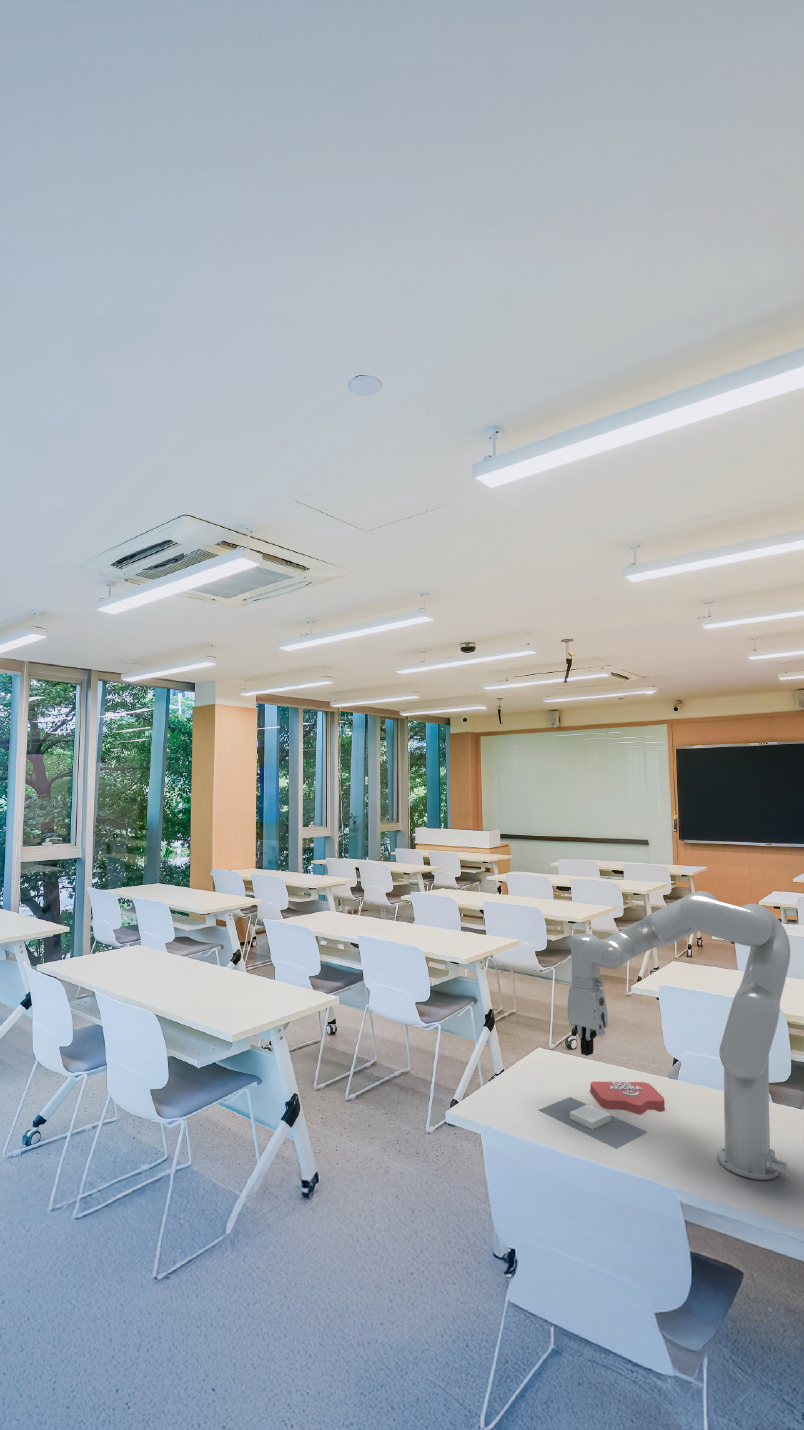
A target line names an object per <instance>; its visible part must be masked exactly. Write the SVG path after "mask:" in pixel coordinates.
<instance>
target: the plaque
mask: <svg viewBox="0 0 804 1430" xmlns="http://www.w3.org/2000/svg"><path fill="white" fill-rule="evenodd" d="M590 1094H591V1095H592V1097H593V1098H594V1099H595V1100H596V1101H597V1104H599V1106H600V1107H602V1108H603V1109H605V1110H622V1111H627V1112H629V1113H632V1114H636V1115H642V1114H644V1113H645V1112H647V1111H649V1110H650V1111H651V1110H652V1111H656V1112H660V1113H661V1112H664V1111H665V1097H664V1096H662V1094H661V1093H660V1092H659V1091H658V1090H657V1089H656V1088H655V1087H654V1086H653V1085H651V1084H650V1083H647V1082H643V1081H636V1082H635V1081H592V1082H590Z"/></svg>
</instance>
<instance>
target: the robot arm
mask: <svg viewBox="0 0 804 1430" xmlns="http://www.w3.org/2000/svg"><path fill="white" fill-rule="evenodd" d="M697 932H699V933H702V934H705V935H708V936H711V937H715V938H718V939H721V940H725V941H728V942H731V943H735V944H738V945H742V946H746V947H749V952H748V953H749V954H748V957H747V961H746V965H745V966H746V967H745V968H744V969H745V970H744V972H743V977H742V979H741V982H740V985H739V987H738V989H737V991H736V992H735V994H734V997H733V1000H732V1003H731V1007H730V1010H729V1013H728V1017H727V1020H726V1024H725V1028H724V1031H723V1035H722V1039H721V1043H720V1044H719V1048H718V1049H719V1051H718V1052H719V1053H718V1055H719V1059H720V1062H721V1064H722V1066H723V1109H724V1111H723V1112H724V1113H723V1114H724V1116H723V1117H724V1118H723V1119H724V1120H723V1121H724V1147H722V1148H720V1149H719V1150H718V1152H717V1159H718V1161H719V1164H721V1165H722V1166H723V1167H724V1168H725V1169H727V1170H728V1171H730V1172H731V1173H734V1174H736V1175H738V1176H741V1177H744V1178H747V1179H751V1180H759V1181H769V1180H773V1179H775V1178H777V1176H779V1175H781V1176H784V1177H786V1178H787V1177H789V1174H790V1168H789V1167H788V1163H787V1162H785V1161H782V1160H779V1159H777V1157H776V1152H775V1149H772V1148H771V1135H770V1134H771V1132H770V1131H771V1130H770V1129H771V1128H770V1084H769V1083H770V1081H769V1080H770V1079H769V1078H770V1076H769V1075H770V1074H769V1072H770V1070H769V1066H770V1063H769V1062H770V1057H769V1056H770V1052H771V1048H772V1044H773V1042H774V1038H775V1034H776V1031H777V1027H778V1023H779V1019H780V1012H781V1011H780V1010H781V998H782V996H783V991H784V987H785V984H786V979H787V975H788V971H789V968H790V961H791V944H790V939H789V936H788V933H787V931H786V929H785V927H784V925H783V924H782V922H781V921H780V920H779V918H778V917H777V916H776V915H775V914H774V913H773V912H772V911H771V910H769V909H768V908H766V906H763V905H760V904H757V903H747V904H744V905H742V906H738V905H735V904H730V903H727V902H724V901H720V900H718V899H717V898H716V896H714V895H713V894H711V893H710V892H708V891H704V890H698V891H694V892H692V893H689V894H688V895H685V896H684V897H682V898H679V899H678V900H676V901H673V902H672V903H670V904H668V905H665V906H664V907H661V908H660V909H657V910H656V911H653V912H652V913H650V914H648V915H647V916H646V917H644V918H643V919H641V920H639V921H637V922H635V923H633V924H631V925H629V926H627V927H625V928H623V929H622V930H620V931H617V932H616V933H613V934H612V935H610V936H608V937H607V938H602V939H600V938H599V937H598V936H596V935H594V934H590V933H575V934H573V935H572V936H571V940H570V943H571V944H570V950H571V951H570V953H571V956H570V957H571V984H570V985H569V989H568V996H567V1009H566V1010H567V1011H566V1012H567V1019H568V1025H569V1026H570V1027H571V1028H573V1029H575V1031H576V1033H577V1035H578V1038H579V1039H580V1055H584V1056H586V1057H587V1056H590V1055H593V1054H594V1047H595V1046H594V1039H595V1038H596V1037H597V1036H600V1037H601V1036H605V1035H606V1031H605V1030H606V1029H605V1028H607V1027H608V1022H609V1021H608V1008H607V1007H608V1006H607V1002H606V1001H607V1000H606V995H605V991H604V989H603V988H604V985H605V982H603V981H602V980H601V979H602V978H601V967H602V968H606V969H610V970H616V969H620V968H622V967H623V966H624V965H625V964H626V963H627V962H629V960H632V959H633V958H636V957H637V956H639V955H641V954H644V953H646V952H648V951H650V950H652V949H655V948H658V947H667V946H669V945H673V944H675V943H676V942H678V941H680V940H683V939H684V938H686V937H689V936H691V935H693V934H695V933H697Z"/></svg>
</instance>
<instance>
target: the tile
mask: <svg viewBox="0 0 804 1430" xmlns="http://www.w3.org/2000/svg"><path fill="white" fill-rule="evenodd" d="M586 1104H587V1105H585V1106H583V1107H580V1108H578V1109H576V1110H573V1111H571V1112H570V1119H572V1120H574V1121H576V1122H578V1123H580V1124H582V1125H584V1126H586V1127H588V1128H590V1129H594V1128H597V1127H599V1126H601V1125H603V1124H605V1123H607V1122H609V1121H611V1116H612V1115H611V1113H609V1112H607V1111H604V1110H602V1109H601V1108H597V1107H595V1106H593V1105H590V1104H589V1103H586Z"/></svg>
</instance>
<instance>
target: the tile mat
mask: <svg viewBox="0 0 804 1430" xmlns="http://www.w3.org/2000/svg"><path fill="white" fill-rule="evenodd" d="M587 1104H588V1103H585V1102H582V1101H580V1100H578V1099H576V1098H574V1097H572V1096H569V1097H565V1098H564V1099H561V1100H558V1101H556V1102H554V1103H552V1104H549V1105H547V1106H545V1107H541V1108H539V1109H538V1111H539V1112H541V1113H543V1114H544V1115H547V1116H548V1117H551V1118H553V1119H555V1120H557V1121H559V1122H561V1123H563V1124H565V1125H567V1126H569V1127H571V1128H573V1129H575V1130H577V1131H578V1132H579V1131H580V1132H581V1133H583V1134H586V1135H588V1136H590V1137H592V1138H594V1139H596V1140H597V1141H599V1142H602V1144H603V1143H604V1144H605V1145H608V1146H610V1147H612V1148H614V1149H615V1150H617V1149H618V1148H621V1147H623V1146H624V1145H627V1144H628V1143H630V1142H632V1141H634V1140H636V1139H637V1138H640V1137H642V1136H644V1135H646V1134H647V1133H648V1131H647V1130H645V1129H642V1128H640V1127H638V1126H636V1125H633V1124H631V1123H629V1122H627V1121H626V1120H625V1121H624V1120H623V1119H620V1118H618V1117H615V1116H613V1115H611V1121H609V1122H607V1123H605V1124H603V1125H601V1126H599V1127H597V1128H594V1129H590V1128H588V1127H586V1126H584V1125H582V1124H580V1123H578V1122H576V1121H574V1120H572V1119H570V1112H571V1111H573V1110H576V1109H578V1108H580V1107H583V1106H585V1105H587Z"/></svg>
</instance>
